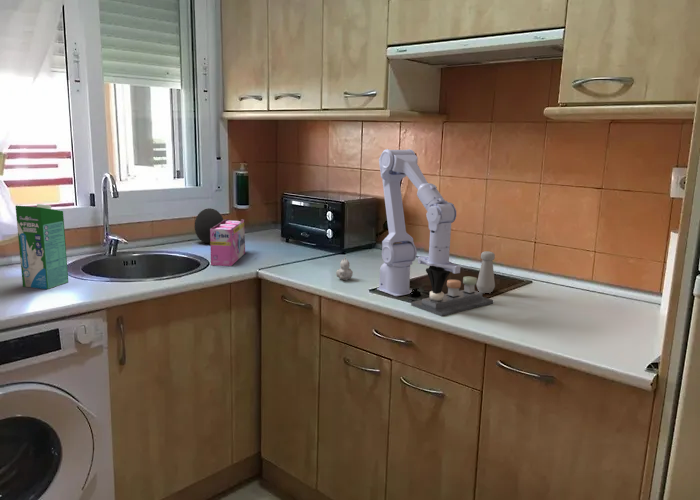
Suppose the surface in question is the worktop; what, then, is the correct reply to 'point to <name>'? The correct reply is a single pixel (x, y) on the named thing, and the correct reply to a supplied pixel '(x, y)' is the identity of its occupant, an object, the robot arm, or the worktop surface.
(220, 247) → the gum box
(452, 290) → the terracotta knob
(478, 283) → the salt shaker
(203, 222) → the decorative egg
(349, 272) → the beige lumpy figurine
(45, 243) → the milk carton
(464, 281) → the sage knob
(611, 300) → the worktop surface
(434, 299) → the cream knob
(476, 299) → the switch panel
